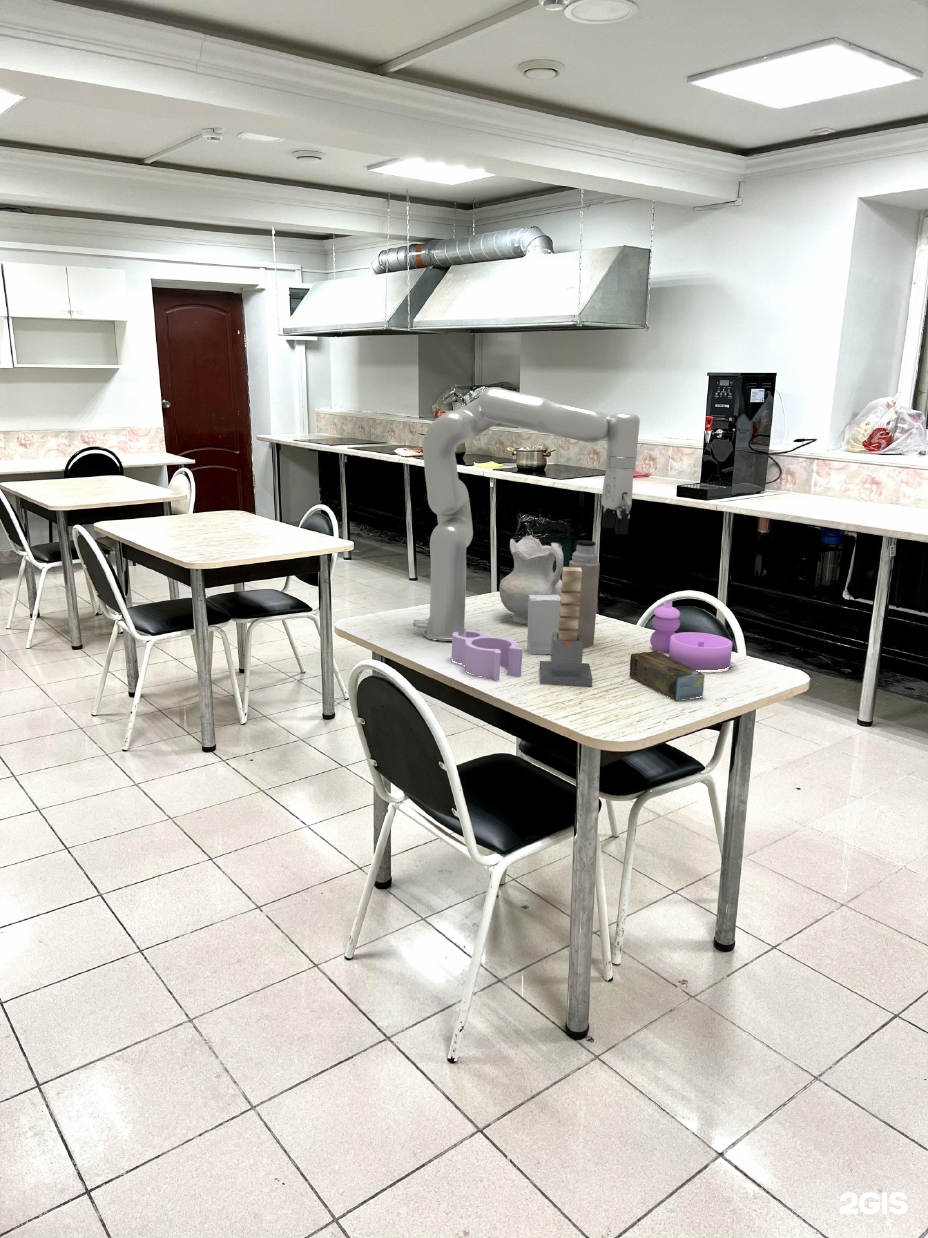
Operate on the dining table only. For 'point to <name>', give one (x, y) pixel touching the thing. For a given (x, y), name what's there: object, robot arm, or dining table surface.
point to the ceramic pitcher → (531, 575)
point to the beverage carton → (666, 675)
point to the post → (569, 603)
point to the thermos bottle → (587, 588)
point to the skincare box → (542, 622)
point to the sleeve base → (566, 664)
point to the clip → (486, 654)
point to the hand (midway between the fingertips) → (614, 530)
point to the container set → (688, 642)
